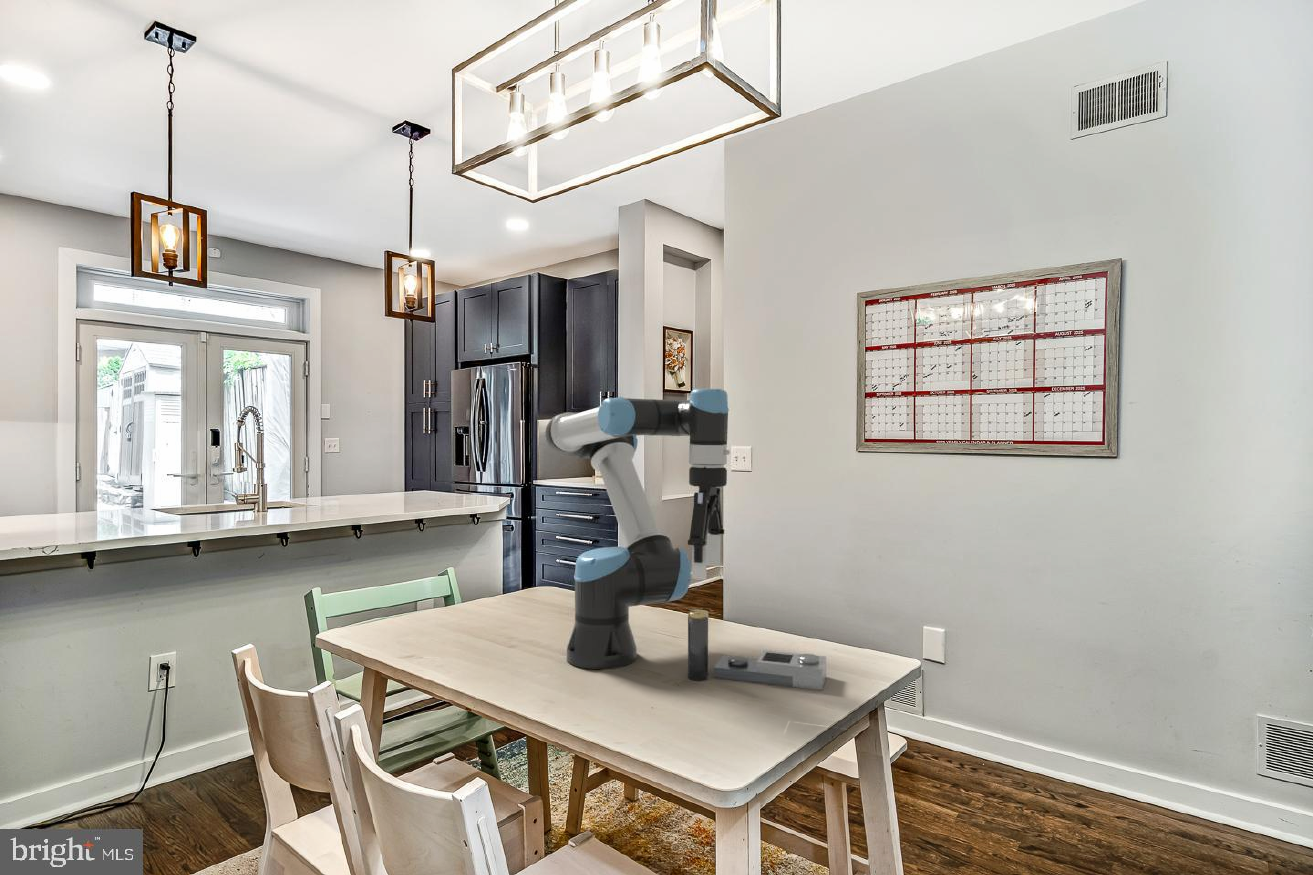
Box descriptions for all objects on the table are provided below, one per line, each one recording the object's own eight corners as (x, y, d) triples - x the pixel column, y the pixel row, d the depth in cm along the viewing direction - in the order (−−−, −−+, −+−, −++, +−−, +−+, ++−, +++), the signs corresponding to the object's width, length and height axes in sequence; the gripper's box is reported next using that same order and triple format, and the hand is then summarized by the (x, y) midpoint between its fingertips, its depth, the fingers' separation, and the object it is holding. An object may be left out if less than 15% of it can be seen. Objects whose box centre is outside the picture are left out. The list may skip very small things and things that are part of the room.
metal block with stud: (713, 677, 135) (713, 653, 135) (723, 664, 143) (723, 642, 143) (822, 690, 129) (822, 664, 129) (826, 676, 136) (826, 652, 136)
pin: (685, 679, 134) (685, 613, 134) (691, 672, 138) (691, 608, 138) (705, 681, 133) (705, 615, 133) (710, 675, 137) (710, 610, 137)
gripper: (714, 470, 123) (712, 587, 124) (737, 463, 147) (735, 561, 148) (673, 468, 126) (672, 583, 126) (703, 462, 149) (701, 559, 150)
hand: (706, 572), depth 137 cm, fingers open, 13 cm apart
